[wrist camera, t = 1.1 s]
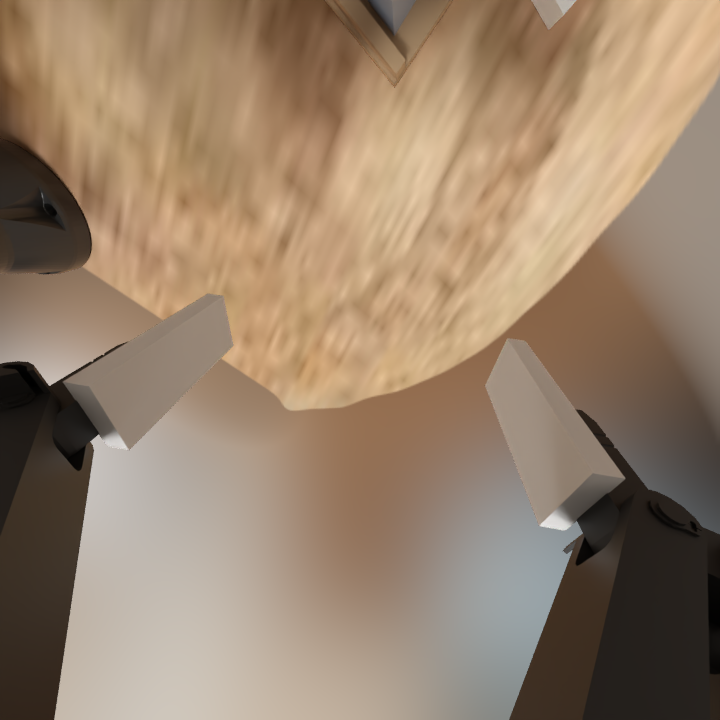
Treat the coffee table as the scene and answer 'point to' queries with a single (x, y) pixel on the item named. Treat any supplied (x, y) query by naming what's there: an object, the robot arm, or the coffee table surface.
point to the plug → (392, 12)
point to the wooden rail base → (380, 41)
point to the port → (552, 10)
